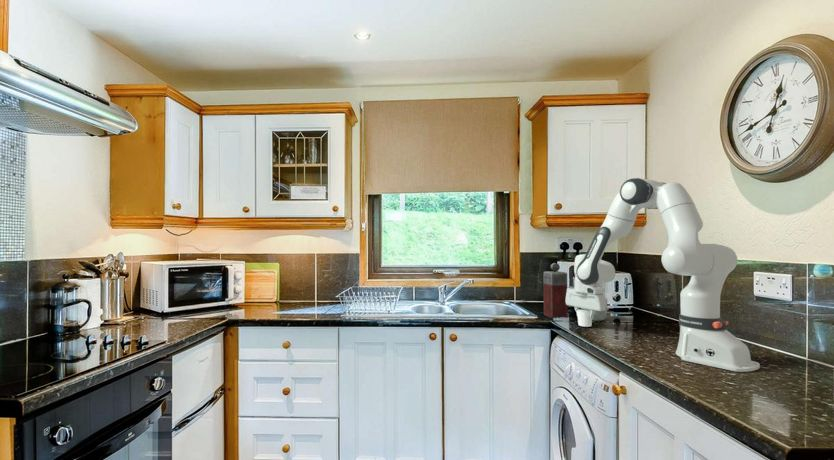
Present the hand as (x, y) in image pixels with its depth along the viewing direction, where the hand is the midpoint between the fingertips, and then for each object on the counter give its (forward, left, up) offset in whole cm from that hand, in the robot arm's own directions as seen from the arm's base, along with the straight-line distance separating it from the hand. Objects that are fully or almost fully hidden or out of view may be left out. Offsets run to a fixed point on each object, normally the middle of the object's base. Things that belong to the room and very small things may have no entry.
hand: (584, 317), depth 181 cm
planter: (+10, -19, -4) cm, 22 cm away
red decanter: (+26, -8, -4) cm, 27 cm away
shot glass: (0, 0, -4) cm, 4 cm away
